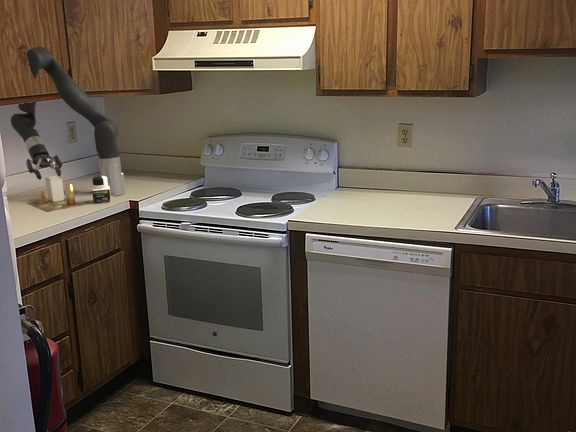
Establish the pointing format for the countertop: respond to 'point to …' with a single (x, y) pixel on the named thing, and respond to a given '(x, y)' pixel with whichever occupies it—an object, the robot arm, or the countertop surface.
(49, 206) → the board
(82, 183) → the countertop surface
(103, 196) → the medicine bottle
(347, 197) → the countertop surface
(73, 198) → the brass pin
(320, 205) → the countertop surface
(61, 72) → the robot arm
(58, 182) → the cover
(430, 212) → the countertop surface
